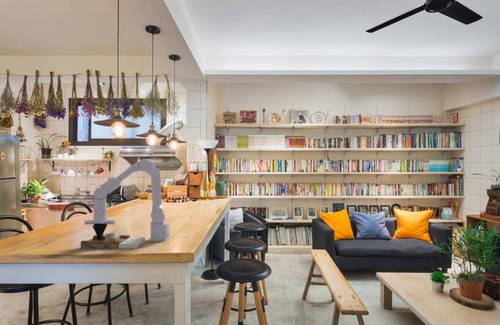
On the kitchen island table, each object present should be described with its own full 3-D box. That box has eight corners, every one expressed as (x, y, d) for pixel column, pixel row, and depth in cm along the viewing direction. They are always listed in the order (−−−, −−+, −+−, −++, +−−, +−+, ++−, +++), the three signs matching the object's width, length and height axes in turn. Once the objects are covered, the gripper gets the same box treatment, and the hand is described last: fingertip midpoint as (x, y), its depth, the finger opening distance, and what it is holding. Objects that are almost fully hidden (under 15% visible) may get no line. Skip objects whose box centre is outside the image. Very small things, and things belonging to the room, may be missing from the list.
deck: (145, 241, 148) (145, 235, 148) (135, 248, 135) (135, 241, 135) (94, 241, 147) (95, 235, 147) (80, 248, 134) (80, 241, 134)
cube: (119, 239, 144) (119, 231, 144) (115, 241, 139) (115, 233, 139) (109, 239, 143) (109, 231, 144) (105, 241, 138) (105, 233, 139)
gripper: (80, 212, 137) (80, 241, 137) (111, 212, 137) (110, 240, 137) (88, 210, 144) (88, 237, 144) (117, 210, 144) (117, 237, 144)
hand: (99, 238), depth 141 cm, fingers closed
